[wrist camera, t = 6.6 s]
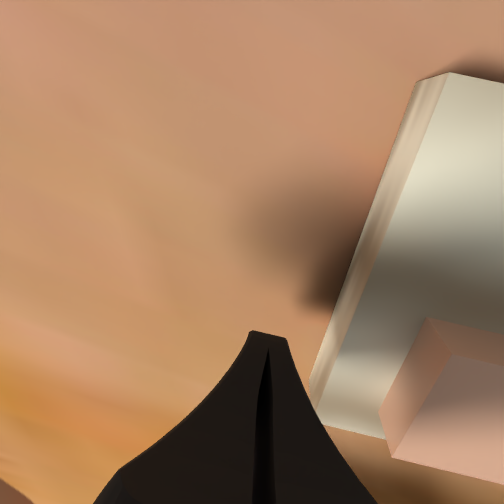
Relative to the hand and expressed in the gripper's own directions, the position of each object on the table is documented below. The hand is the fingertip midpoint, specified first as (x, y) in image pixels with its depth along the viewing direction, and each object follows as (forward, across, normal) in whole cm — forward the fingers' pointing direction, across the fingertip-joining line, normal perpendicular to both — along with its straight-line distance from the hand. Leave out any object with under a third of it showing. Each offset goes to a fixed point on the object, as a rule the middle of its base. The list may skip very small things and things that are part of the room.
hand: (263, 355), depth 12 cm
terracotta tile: (+1, -8, 0) cm, 8 cm away
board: (+4, -8, -3) cm, 9 cm away
